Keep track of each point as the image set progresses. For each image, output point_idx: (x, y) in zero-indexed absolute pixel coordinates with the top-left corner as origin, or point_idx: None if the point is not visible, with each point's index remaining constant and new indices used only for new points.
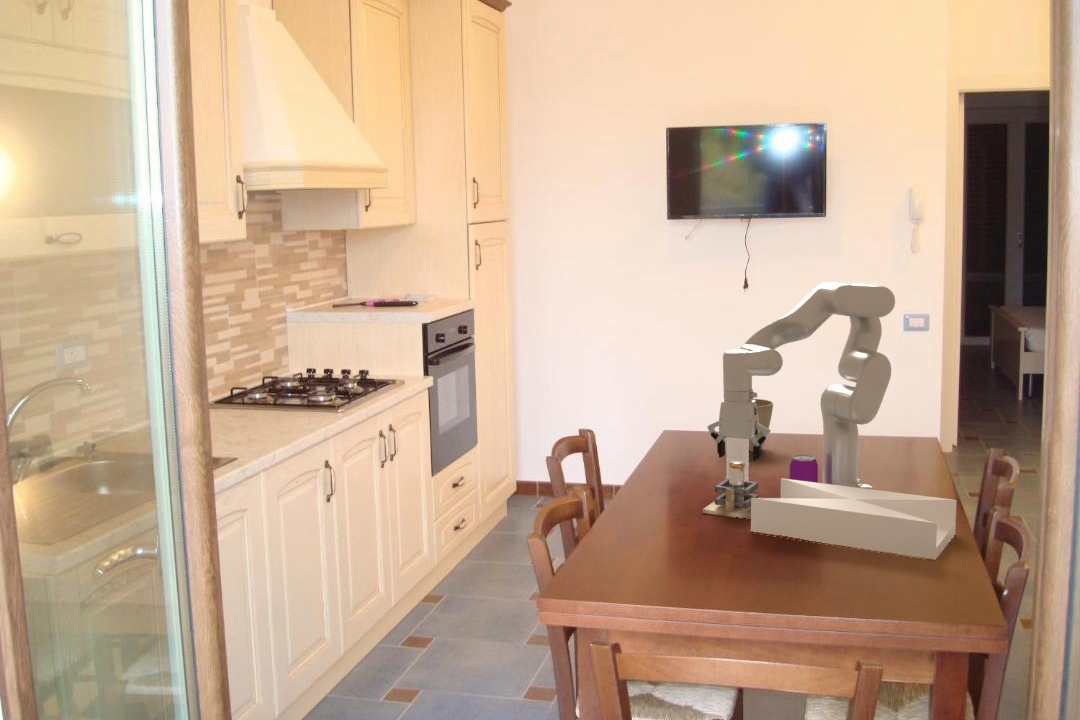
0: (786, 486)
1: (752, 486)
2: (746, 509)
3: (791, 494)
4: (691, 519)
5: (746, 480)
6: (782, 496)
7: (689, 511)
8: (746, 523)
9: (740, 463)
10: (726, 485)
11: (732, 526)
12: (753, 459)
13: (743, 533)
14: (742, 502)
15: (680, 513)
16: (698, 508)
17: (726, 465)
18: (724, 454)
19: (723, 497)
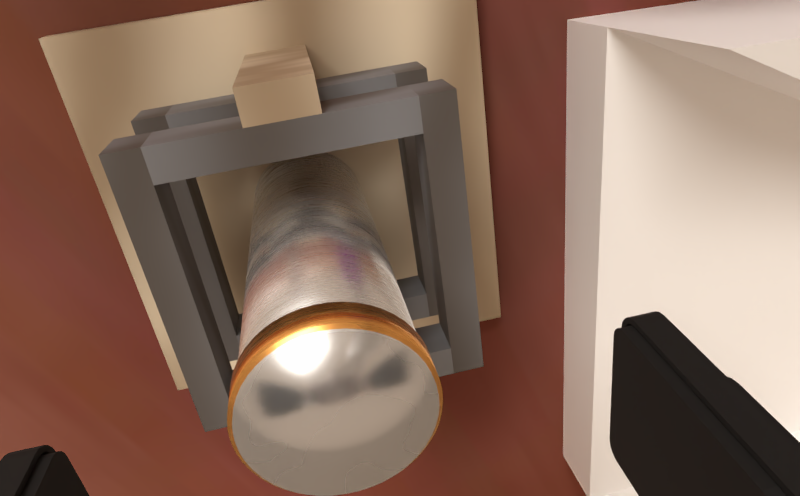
0: (743, 66)
1: (470, 245)
2: (409, 231)
3: (749, 77)
4: (215, 487)
5: (317, 91)
6: (641, 36)
7: (95, 398)
8: (490, 369)
9: (392, 412)
10: (182, 233)
11: (452, 443)
12: (621, 458)
13: (539, 480)
14: (420, 312)
15: (85, 454)
16: (90, 321)
17: None
18: (69, 485)
19: (214, 260)
